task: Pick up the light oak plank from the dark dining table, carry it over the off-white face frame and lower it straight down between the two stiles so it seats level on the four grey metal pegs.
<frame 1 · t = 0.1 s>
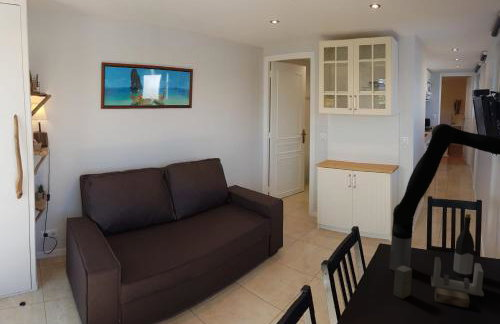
skincare box: (401, 295, 155), on the table
wine bottle: (462, 274, 174), on the table
frame: (455, 286, 162), on the table
board: (451, 302, 149), on the table
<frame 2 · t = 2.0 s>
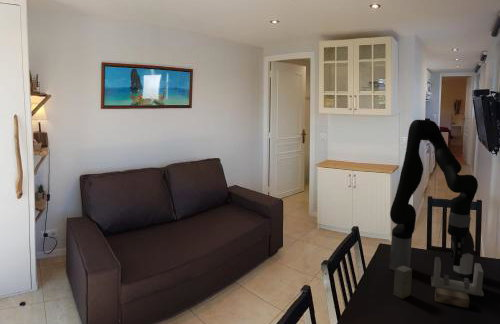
hand: (455, 261, 147), 18 cm above the table, fingers open, 8 cm apart
nothing on the table moved.
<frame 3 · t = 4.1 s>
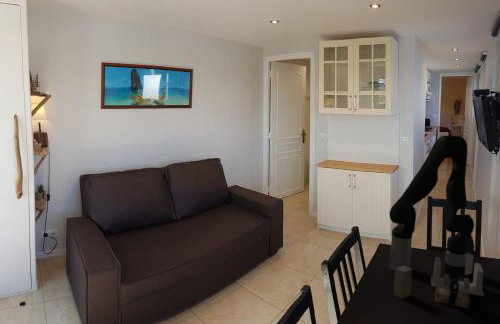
hand: (451, 300, 149), 1 cm above the table, fingers closed on board, 5 cm apart
board: (451, 301, 149), on the table, touching gripper
everything else where it was.
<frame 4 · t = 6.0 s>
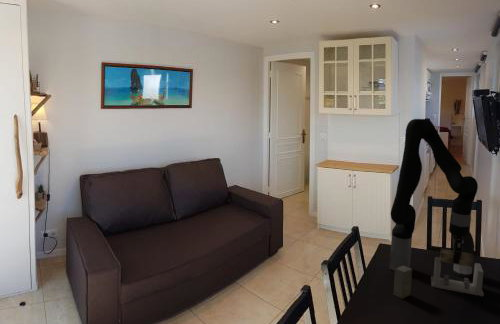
hand: (455, 260, 155), 15 cm above the table, fingers closed on board, 5 cm apart
board: (455, 261, 155), point 14 cm above the table, touching gripper
everything else where it was.
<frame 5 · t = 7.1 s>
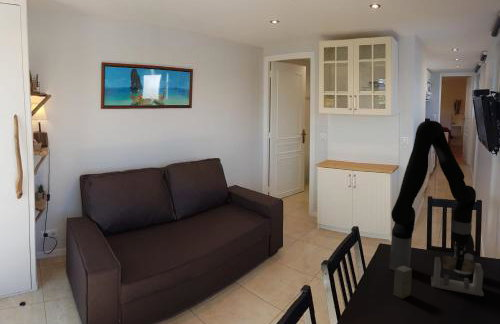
hand: (457, 266, 160), 10 cm above the table, fingers closed on board, 5 cm apart
board: (458, 268, 160), point 9 cm above the table, touching gripper
everything else where it was.
when the fingers open (6 cm above the table, at t = 8.0 s): board drops 1 cm, resting on frame.
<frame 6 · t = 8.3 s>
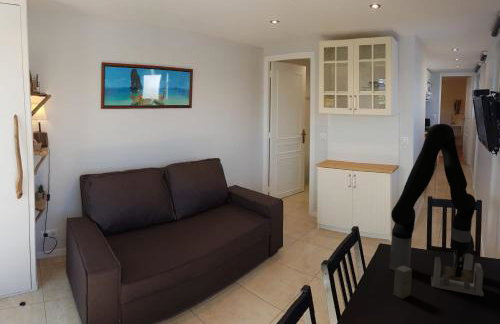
hand: (457, 273, 161), 6 cm above the table, fingers open, 7 cm apart
board: (456, 278, 161), point 4 cm above the table, touching frame
everything else where it was.
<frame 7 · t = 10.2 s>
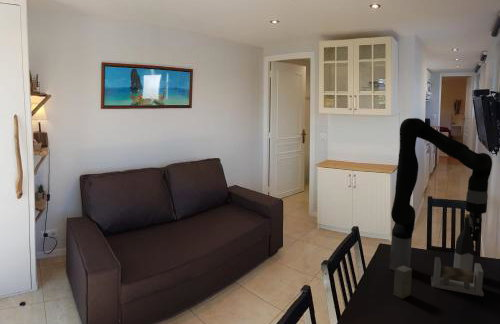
hand: (473, 237, 152), 25 cm above the table, fingers open, 8 cm apart
nothing on the table moved.
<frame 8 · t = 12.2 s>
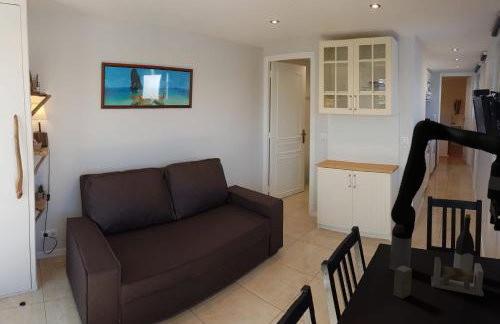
hand: (494, 227, 142), 33 cm above the table, fingers open, 8 cm apart
nothing on the table moved.
at the end: board 0.1 cm off-centre on the frame, point 4.0 cm above the frame's base; board tilted 0°; the gripper is holding nothing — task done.
